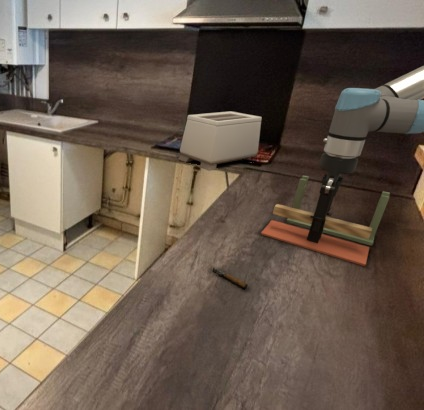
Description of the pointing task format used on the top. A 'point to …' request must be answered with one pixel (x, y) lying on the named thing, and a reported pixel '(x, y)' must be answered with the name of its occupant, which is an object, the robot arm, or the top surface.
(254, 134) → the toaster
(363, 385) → the top surface
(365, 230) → the hanger bar
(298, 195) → the rack
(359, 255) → the mat
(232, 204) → the top surface
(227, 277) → the can opener
